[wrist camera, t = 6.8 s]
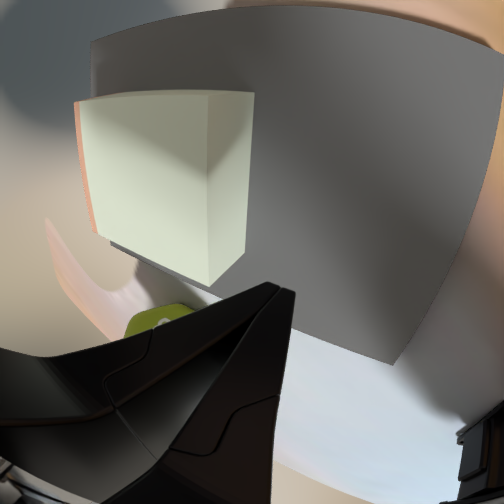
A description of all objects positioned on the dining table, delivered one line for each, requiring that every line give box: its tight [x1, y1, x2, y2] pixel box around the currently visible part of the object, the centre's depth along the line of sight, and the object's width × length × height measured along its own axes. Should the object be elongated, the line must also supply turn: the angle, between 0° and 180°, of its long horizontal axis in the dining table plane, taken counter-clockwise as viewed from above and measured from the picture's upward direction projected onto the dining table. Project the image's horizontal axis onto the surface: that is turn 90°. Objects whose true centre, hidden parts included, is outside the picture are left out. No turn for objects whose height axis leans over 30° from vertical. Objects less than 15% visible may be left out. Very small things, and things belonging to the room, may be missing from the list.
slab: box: [74, 90, 255, 287], centre depth 13 cm, size 3×8×9 cm
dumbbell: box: [124, 304, 194, 338], centre depth 24 cm, size 16×8×7 cm, turn 168°
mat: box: [90, 6, 504, 365], centre depth 14 cm, size 22×16×1 cm
